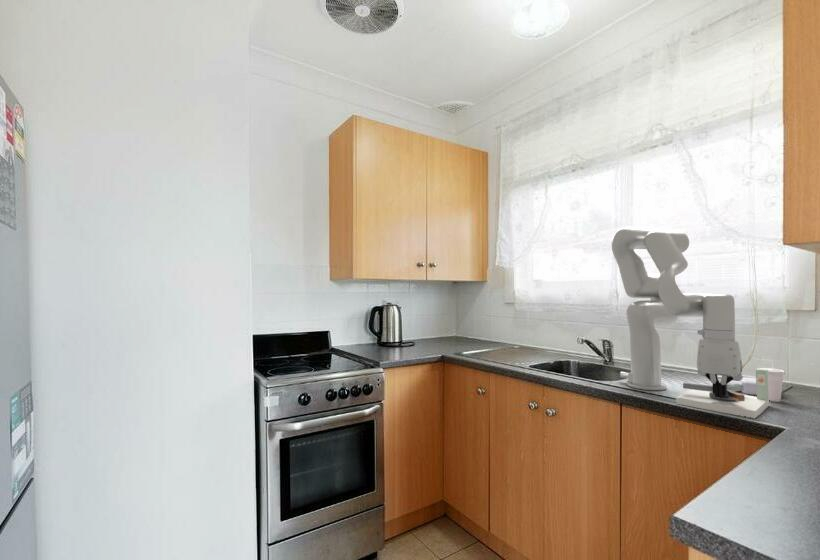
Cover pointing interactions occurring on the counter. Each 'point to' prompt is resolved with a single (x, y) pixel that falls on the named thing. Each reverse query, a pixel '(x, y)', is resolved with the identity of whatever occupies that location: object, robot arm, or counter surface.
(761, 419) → the counter surface
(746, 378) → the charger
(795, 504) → the counter surface
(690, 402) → the stand
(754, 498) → the counter surface
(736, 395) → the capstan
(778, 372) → the smoothie
